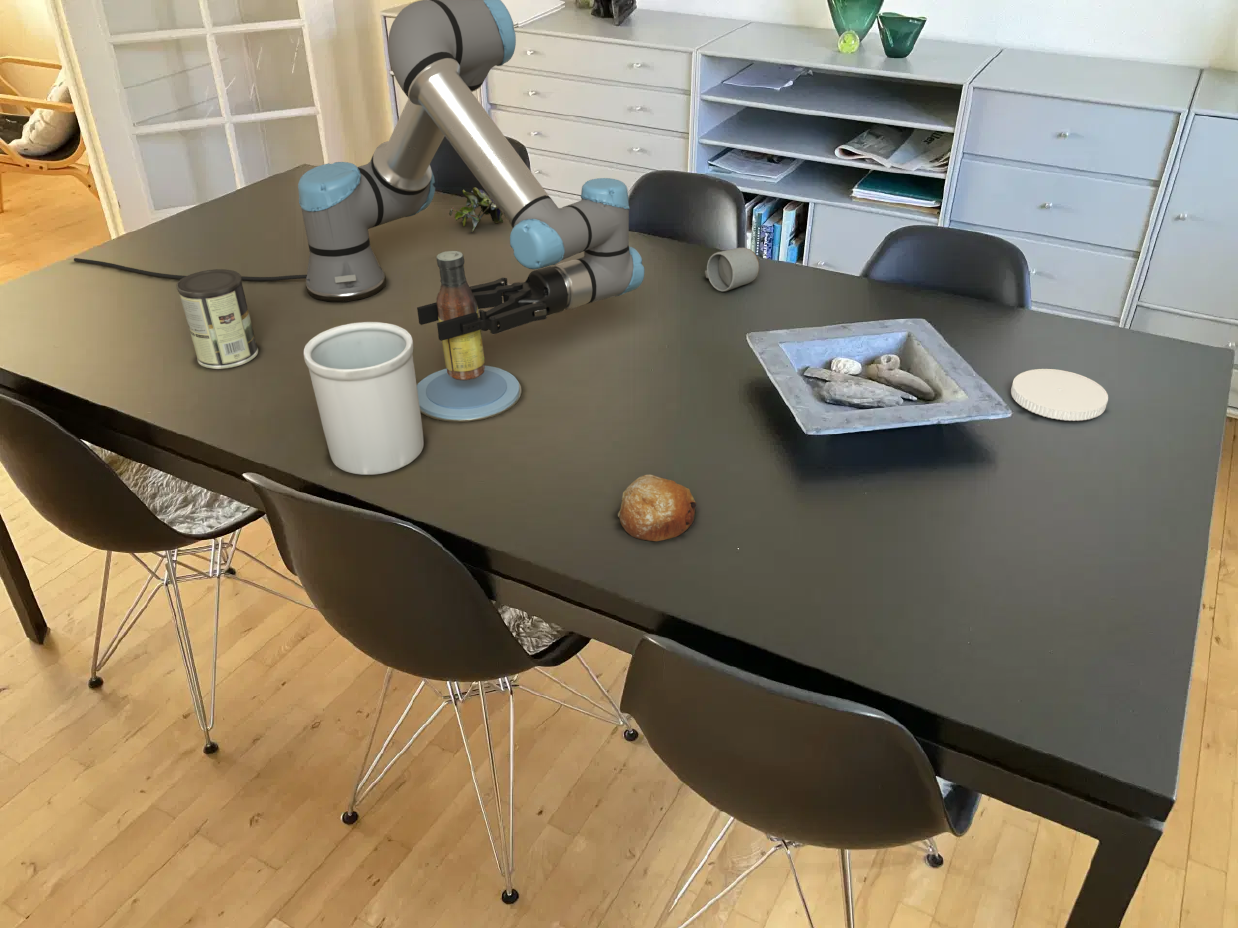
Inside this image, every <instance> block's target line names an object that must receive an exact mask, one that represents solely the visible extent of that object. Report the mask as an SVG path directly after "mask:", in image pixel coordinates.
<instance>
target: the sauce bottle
mask: <svg viewBox="0 0 1238 928" xmlns="http://www.w3.org/2000/svg"><path fill="white" fill-rule="evenodd" d="M436 265H437V267H438V268H439V275H440V288H439V291H438V293H437V296H436V299H435V300H436V302H437V308H438V319H439V320H438V322H442V321H445V320H449V319H453V318H456V317H460V316H464V315H467V314H471V313H474V312H476V313H477V314H478V318H479V317H480V314H479V309H478V306H477V302H476V300H475V297H474V295H473V293H472V291H471V289H470V285H469V282H468V281H467V277H466V272H465V256H464V253H462V252H461V251H459V250H447V251H442V252H440V253H438V254H437V255H436ZM436 302H435V303H436ZM441 344H442V351H443V355H444V356H443V357H444V363H445V369H447V373H448V375H449V376H450V377H452V378H454V379H456V380H471V379H475V378H477V377H479V376H480V375H482V374H483V373H484V369H485V366H486V365H485V362H486V359H485V353H484V344H483V335H482V330H478V331H474V332H471V333H467V334H464V335H460V336H457V337H453V338H450V339H446V340H443V341H441Z"/></svg>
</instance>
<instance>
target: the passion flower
mask: <svg viewBox="0 0 1238 928" xmlns="http://www.w3.org/2000/svg"><path fill="white" fill-rule="evenodd" d="M462 193H463V195H464V196H465V197H466V202H465V205H464V206H462V207H460V208H459V210H457V209H455V207H453V206H451V207H450V209H449V212H448V214H449V216H453V215H452V214H453V212H455V214H454V219H455V221H456V222H457V221H458V220H460V219H461V221H462V225H463V227H464V228H465V227H466V223H467V220H468V219H469V218H471V221H472V222H471V223H472V230H471V231H470V233H471V234H473V232H474V231H475V228H476V227H477V226H478V224H479V223H480V222H481V221H482V220H481V219H482V218H483V217H484V215H485V216H488V215H490V218H491V221H492V222H493V223H494V224H499V223H502V224H503V223H504V219H503V218H502V216H503V213H502V212H501V211H500V209H499V208H498V207H497V205H496V204H495V203H494V201H493V200H492V199H491V197H490V196H489V195H488V193H487V192H486V191H485V190H483V189H479V188H477V187H473V188H472V190H471V192H469V191H466V190H465V189H463V190H462ZM479 207H480V211H479V213H478V214H477V213H476V212H475V211H476V209H477V208H479ZM481 213H482V214H481ZM472 215H473V216H472Z"/></svg>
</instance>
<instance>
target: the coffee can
mask: <svg viewBox="0 0 1238 928" xmlns="http://www.w3.org/2000/svg"><path fill="white" fill-rule="evenodd" d="M185 276H186V277H184V278H182V279H179V280H178V281H177V283H176V284H175V285H176V290H177V292H178V294H179V298H180V302H181V305H182V308H183V309H182V310H183V312H184V315H185V319H186V323H187V326H188V331H189V333H190V336H191V341H192V345H193V349H194V351H195V355H196V358H197V359H196V361H197V363H198V364H199V365H200V366H201V367H203V368H207V369H212V370H226V369H231V368H235V367H239V366H243V365H245V364H247V363H249V362H251V361H252V360H253V359H255V358H256V357H257V356H258V354H259V348H258V345H257V342H256V336H255V334H254V333H255V332H254V329H253V325H252V320H251V316H250V311H249V308H248V304H247V299H246V294H245V291H244V286H243V280H242V278H241V276H242V275H241V273H240V272H238V271H235V270H231V269H227V268H226V269H223V268H216V269H207V270H201V271H196V272H193V273H191V274H188V275H185Z"/></svg>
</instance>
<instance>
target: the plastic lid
mask: <svg viewBox="0 0 1238 928" xmlns="http://www.w3.org/2000/svg"><path fill="white" fill-rule="evenodd" d="M1010 394H1011V397H1012V398H1013V400H1014V401H1015V403H1017V404H1018V405H1019V406H1021V408H1024V409H1025V410H1027V411H1029V412H1031V413H1034V414H1036V415H1039V416H1042V417H1044V418H1045V417H1046V418H1048V419H1055V420H1060V421H1069V422H1071V421H1073V422H1076V421H1077V422H1079V421H1087V420H1091V419H1094V418H1095V419H1096V418H1097V417H1099V416H1101V415H1102V414H1103V413H1104V412H1105V411H1106V408H1107V405H1108V402H1109V394H1108V392H1107V391H1106V389H1105V388H1104V387H1103V386H1102V385H1101V384H1099V383H1098V382H1096V381H1095V380H1093V379H1092V378H1089V377H1086V376H1084V375H1082V374H1078V373H1075V372H1071V371H1067V370H1062V369H1057V368H1056V369H1054V368H1051V369H1050V368H1036V369H1029V370H1026V371H1023V372H1021V373H1018V374H1017V375H1016V376H1015V377H1014V378H1013V380H1012V383H1011V389H1010Z"/></svg>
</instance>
